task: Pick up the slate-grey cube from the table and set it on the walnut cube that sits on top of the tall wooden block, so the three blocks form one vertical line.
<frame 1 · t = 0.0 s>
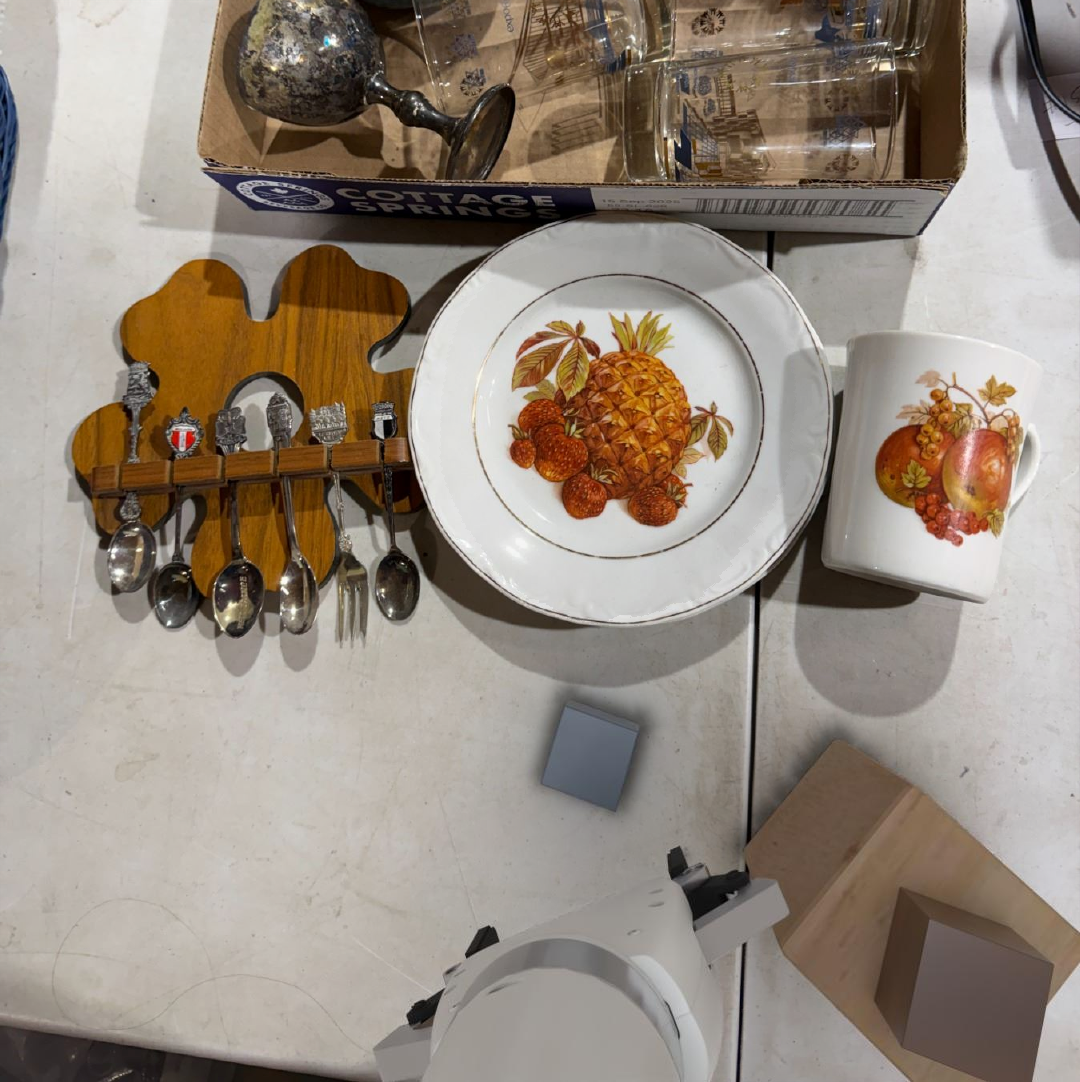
hand: (592, 921, 46), 20 cm above the table, tool pointing down, fingers open, 9 cm apart
slate cube: (593, 748, 67), on the table
walnut cube: (942, 964, 44), point 20 cm above the table, touching wooden block
wooden block: (848, 850, 64), on the table, touching walnut cube
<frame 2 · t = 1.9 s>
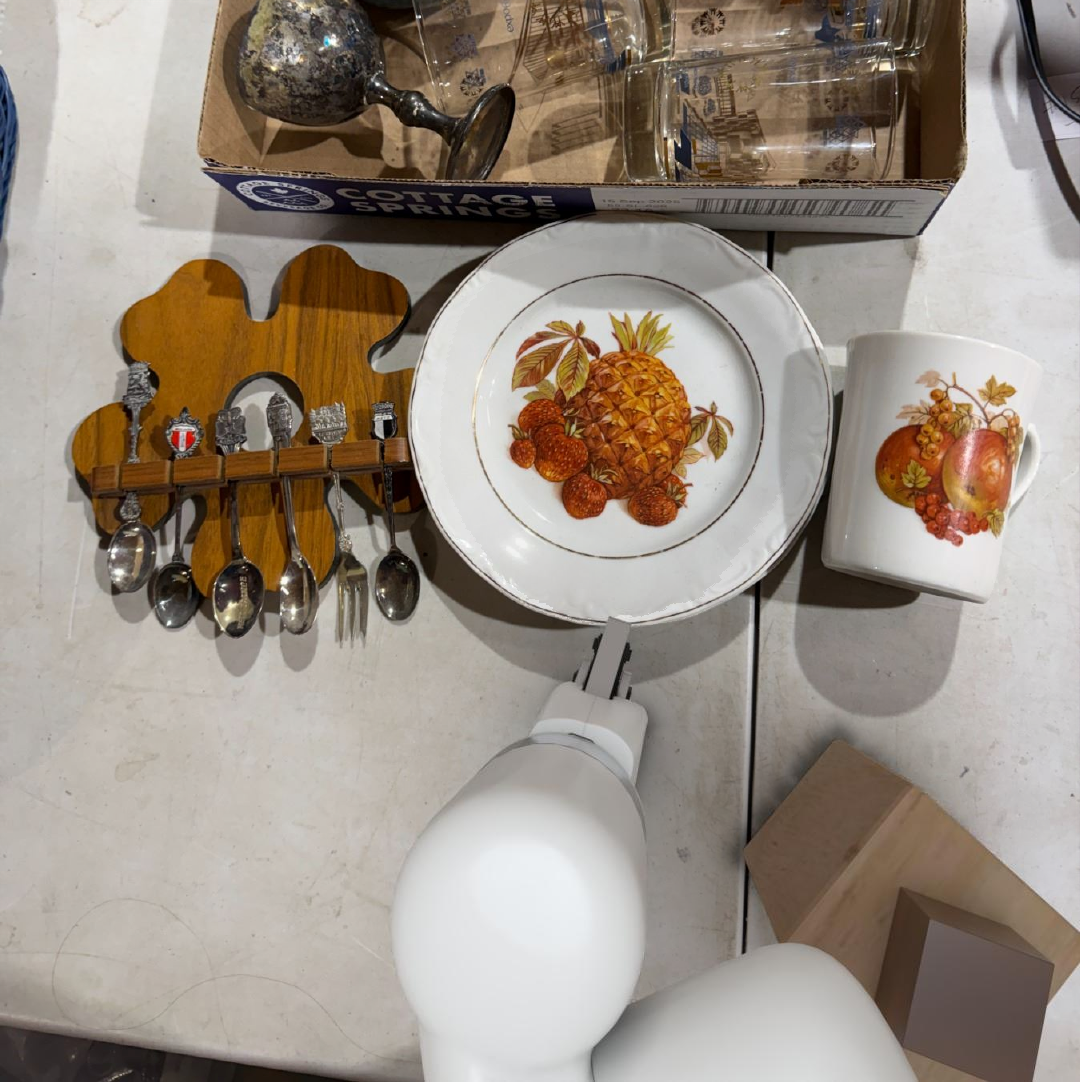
hand: (578, 768, 55), 12 cm above the table, tool pointing down, fingers open, 9 cm apart
nothing on the table moved.
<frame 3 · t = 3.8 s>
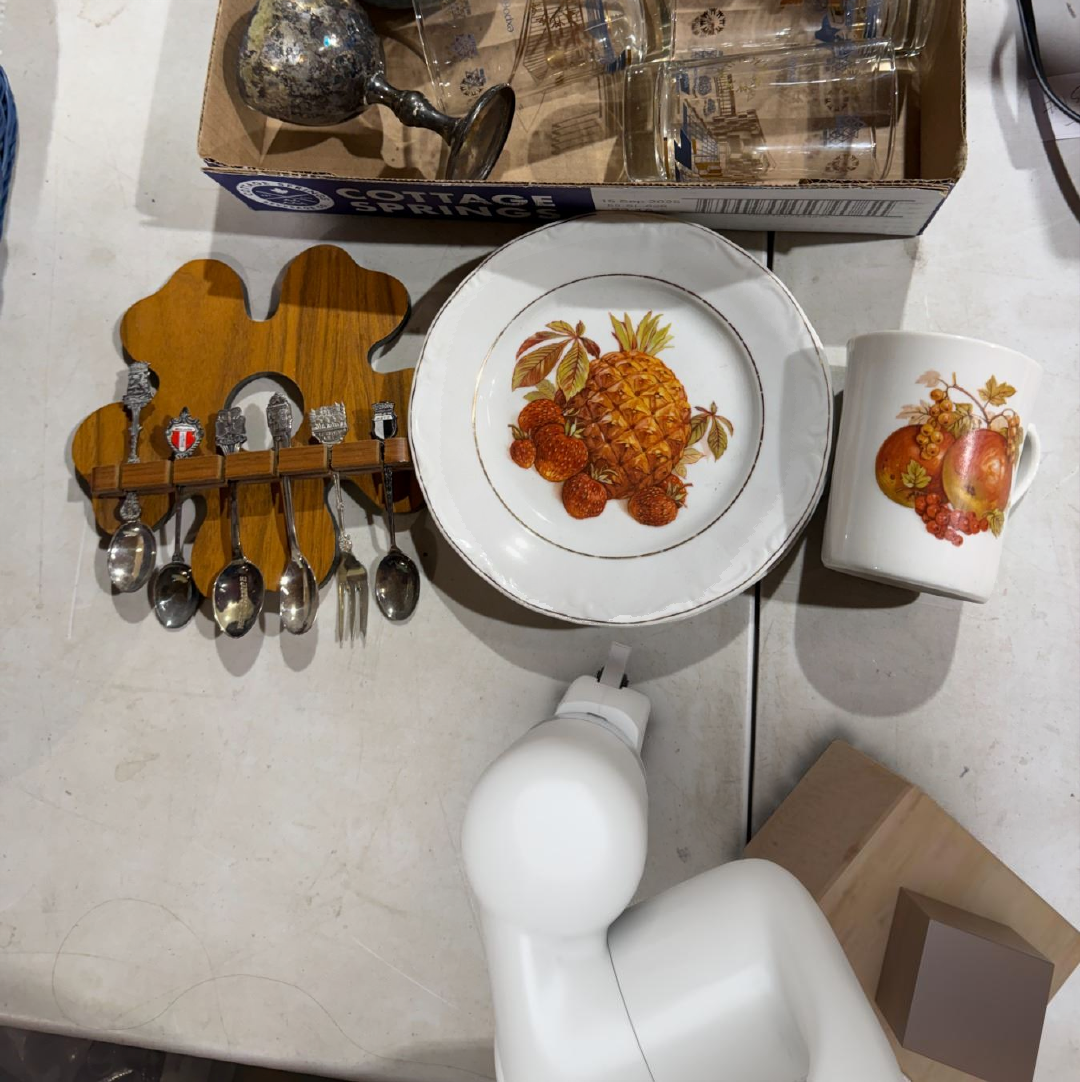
hand: (593, 749, 67), 0 cm above the table, tool pointing down, fingers closed on slate cube, 5 cm apart
slate cube: (593, 748, 67), on the table, touching gripper
everything else where it was.
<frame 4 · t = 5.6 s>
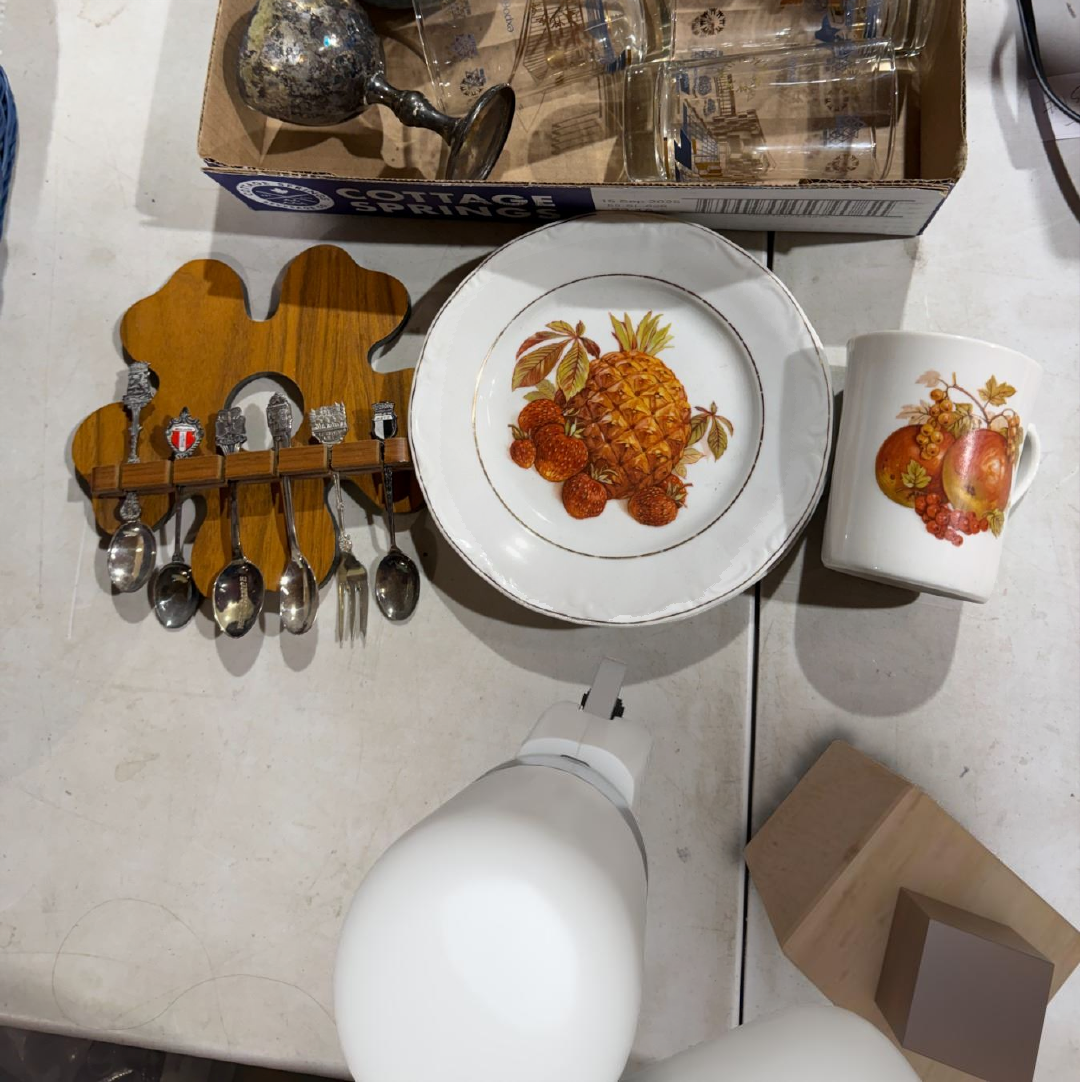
hand: (579, 797, 51), 17 cm above the table, tool pointing down, fingers closed on slate cube, 5 cm apart
slate cube: (580, 796, 51), point 16 cm above the table, touching gripper
everything else where it was.
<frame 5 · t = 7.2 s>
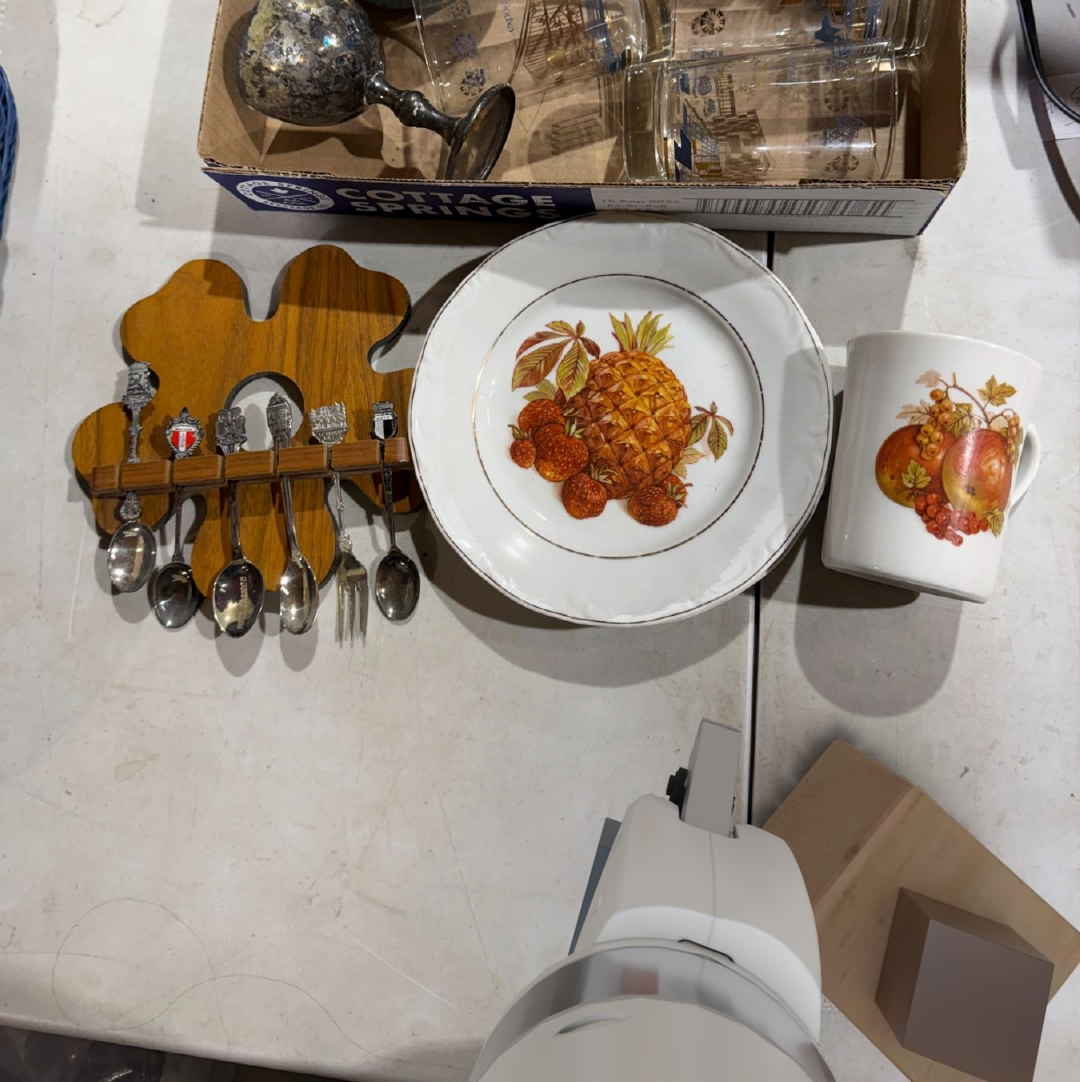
hand: (655, 917, 34), 33 cm above the table, tool pointing down, fingers closed on slate cube, 5 cm apart
slate cube: (653, 913, 35), point 33 cm above the table, touching gripper
everything else where it was.
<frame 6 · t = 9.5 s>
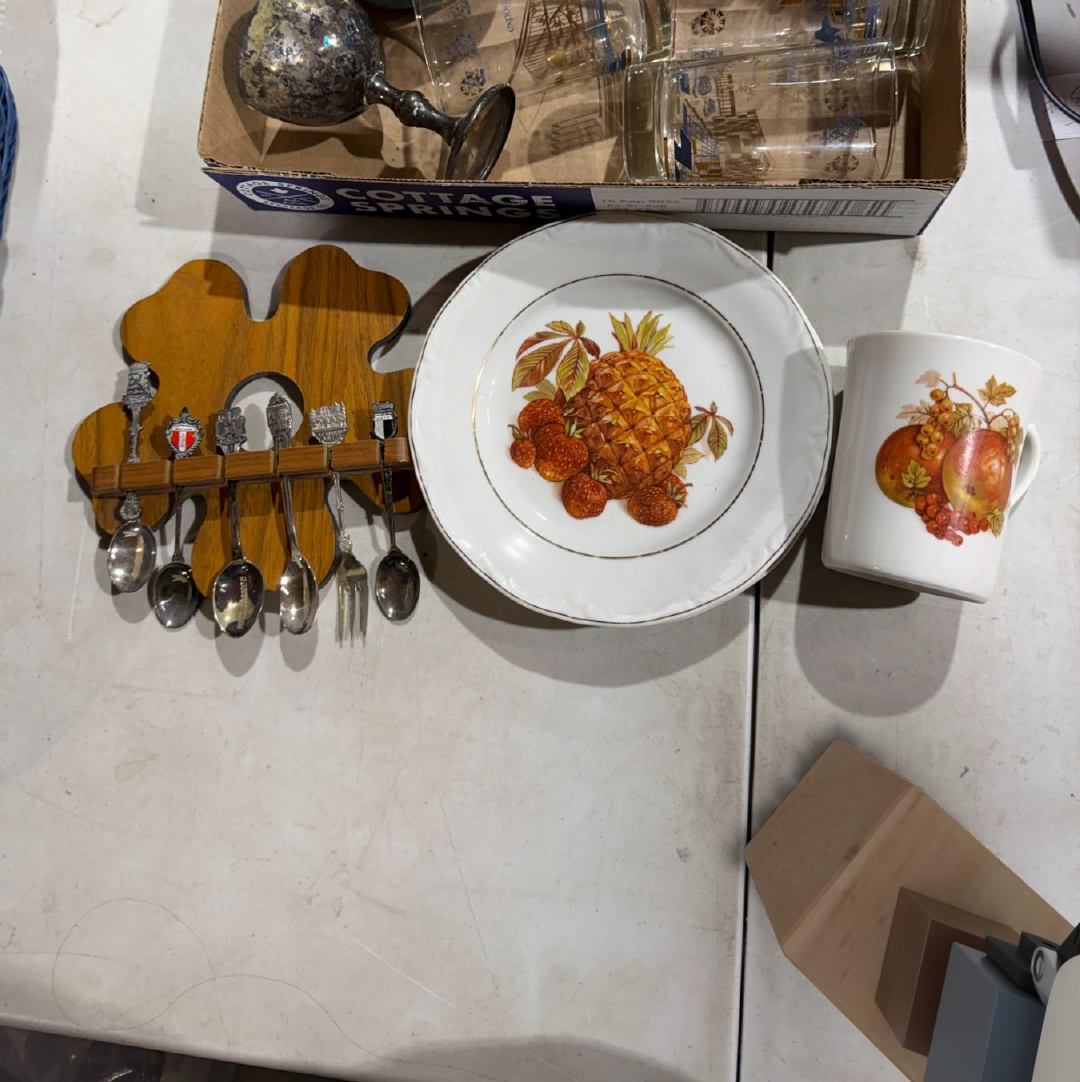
hand: (1010, 1042, 36), 29 cm above the table, tool pointing down, fingers closed on slate cube, 5 cm apart
slate cube: (1006, 1037, 36), point 28 cm above the table, touching gripper
everything else where it was.
when the fingers open (25 cm above the table, at t = 10.9 s): slate cube stays where it is, resting on walnut cube.
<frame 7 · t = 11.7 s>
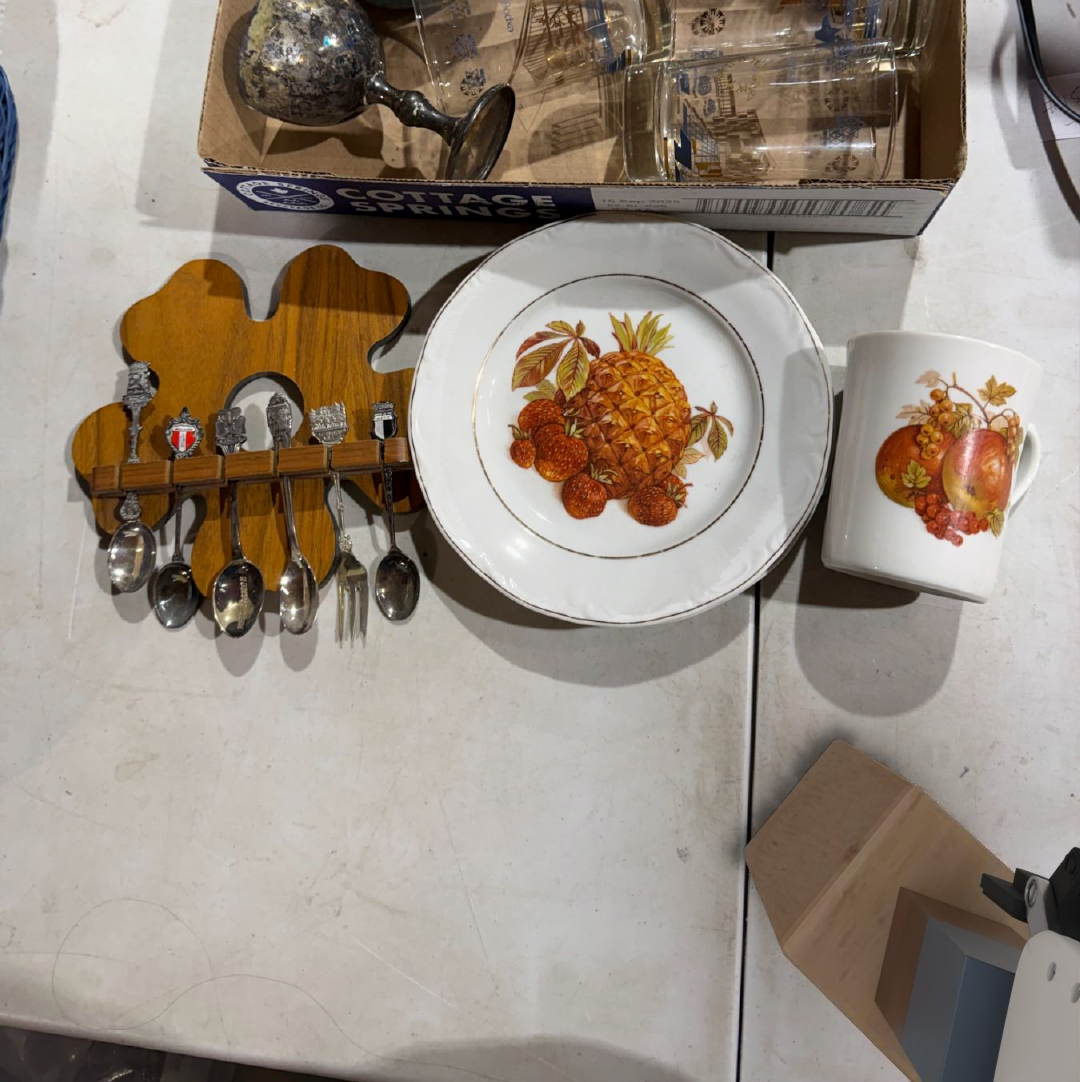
hand: (993, 1026, 38), 27 cm above the table, tool pointing down, fingers open, 9 cm apart
slate cube: (976, 1004, 39), point 25 cm above the table, touching walnut cube
walnut cube: (942, 964, 44), point 20 cm above the table, touching slate cube, wooden block
everything else where it was.
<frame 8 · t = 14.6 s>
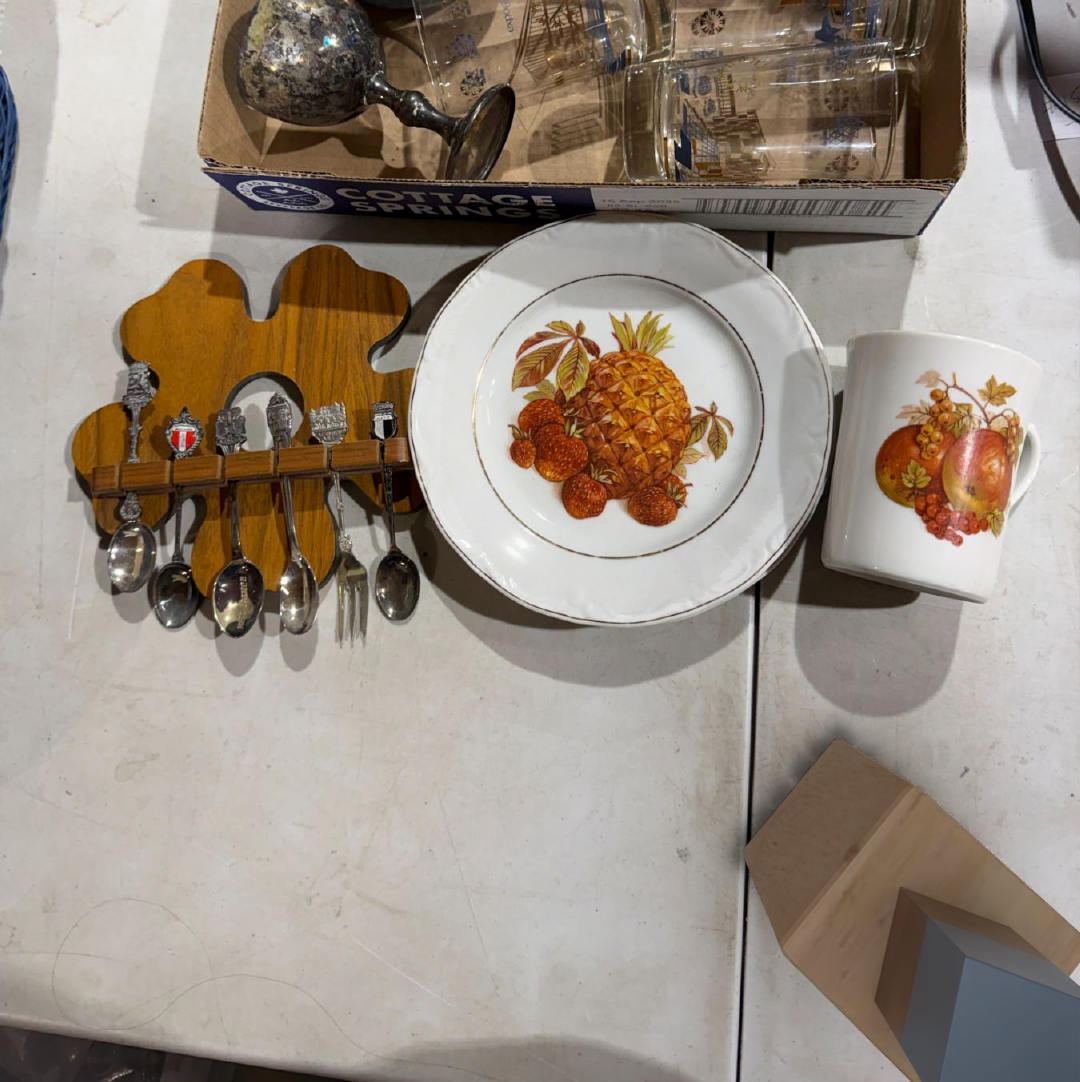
nothing on the table moved.
at the end: slate cube 0.6 cm off-centre on the wooden block, point 25.2 cm above the wooden block's base; walnut cube 0.7 cm off-centre on the wooden block, point 20.2 cm above the wooden block's base; slate cube tilted 0° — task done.
